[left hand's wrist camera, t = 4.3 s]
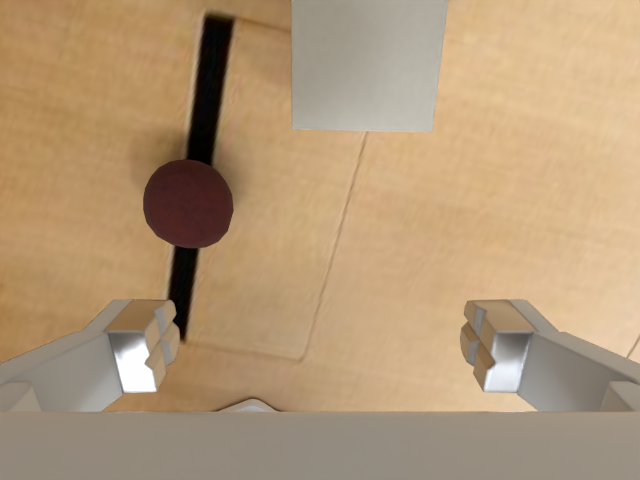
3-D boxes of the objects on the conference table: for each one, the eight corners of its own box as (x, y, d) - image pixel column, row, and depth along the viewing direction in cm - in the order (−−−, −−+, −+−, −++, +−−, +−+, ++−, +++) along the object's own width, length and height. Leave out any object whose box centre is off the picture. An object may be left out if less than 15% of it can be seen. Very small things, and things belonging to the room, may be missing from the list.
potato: (223, 144, 33) (201, 155, 26) (251, 223, 36) (237, 251, 29) (147, 165, 34) (106, 182, 27) (180, 242, 36) (150, 274, 30)
